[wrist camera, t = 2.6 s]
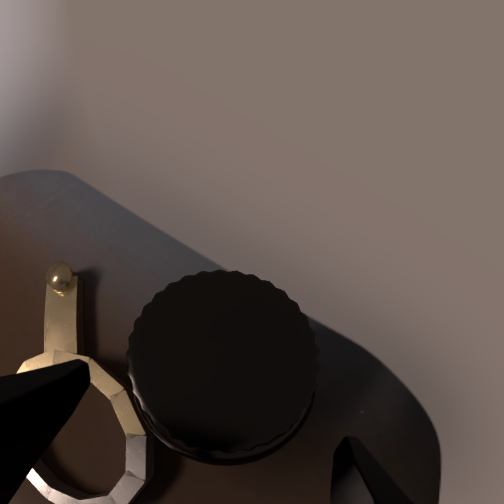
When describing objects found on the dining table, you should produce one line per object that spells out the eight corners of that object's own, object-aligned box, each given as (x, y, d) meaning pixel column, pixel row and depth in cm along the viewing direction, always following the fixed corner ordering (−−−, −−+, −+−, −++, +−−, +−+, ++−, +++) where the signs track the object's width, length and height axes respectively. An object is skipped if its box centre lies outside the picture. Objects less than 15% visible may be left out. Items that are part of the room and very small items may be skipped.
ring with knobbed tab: (155, 436, 14) (146, 438, 12) (20, 432, 12) (4, 430, 10) (132, 262, 21) (125, 247, 19) (19, 283, 19) (7, 272, 17)
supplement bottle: (227, 463, 14) (221, 542, 4) (151, 388, 16) (43, 339, 6) (301, 390, 17) (402, 344, 7) (226, 322, 19) (222, 198, 9)
